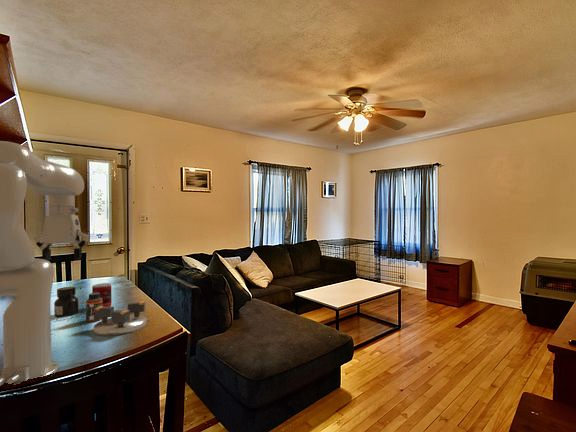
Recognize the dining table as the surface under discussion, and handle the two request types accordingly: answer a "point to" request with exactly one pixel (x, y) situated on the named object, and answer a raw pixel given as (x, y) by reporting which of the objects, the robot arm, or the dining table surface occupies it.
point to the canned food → (103, 293)
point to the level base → (113, 329)
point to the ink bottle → (66, 302)
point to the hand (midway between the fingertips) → (62, 260)
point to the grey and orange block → (136, 308)
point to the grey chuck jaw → (120, 317)
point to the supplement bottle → (93, 306)
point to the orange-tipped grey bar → (103, 313)
